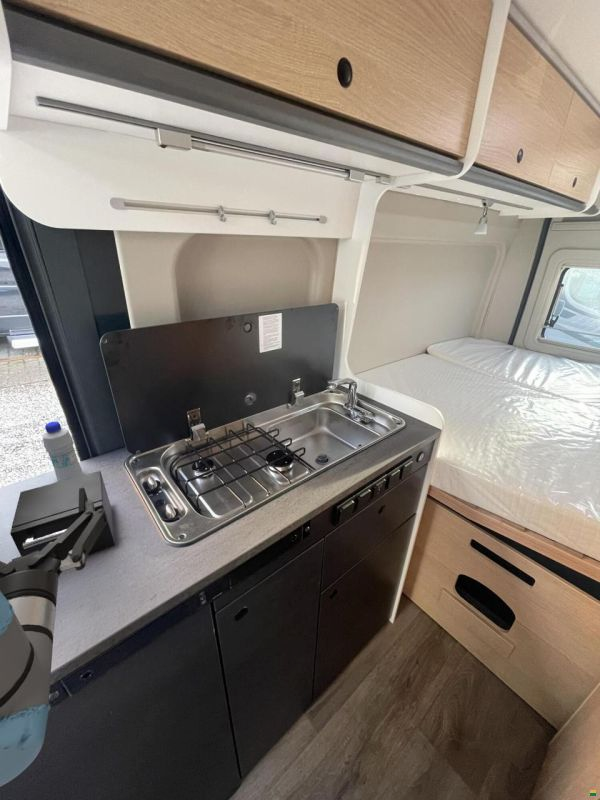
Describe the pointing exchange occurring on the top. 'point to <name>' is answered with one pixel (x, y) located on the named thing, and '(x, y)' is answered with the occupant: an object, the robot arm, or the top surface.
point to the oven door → (56, 532)
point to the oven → (61, 499)
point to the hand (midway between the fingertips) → (37, 506)
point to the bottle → (61, 452)
